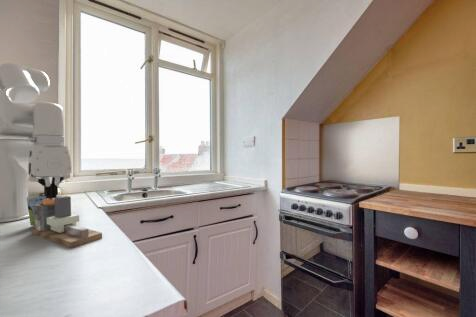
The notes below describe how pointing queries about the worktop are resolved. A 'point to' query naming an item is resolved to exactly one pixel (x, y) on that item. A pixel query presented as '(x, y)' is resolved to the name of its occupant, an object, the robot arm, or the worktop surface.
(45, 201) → the plunger
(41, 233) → the rail bench
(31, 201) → the beverage can
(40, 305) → the worktop surface
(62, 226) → the carriage
